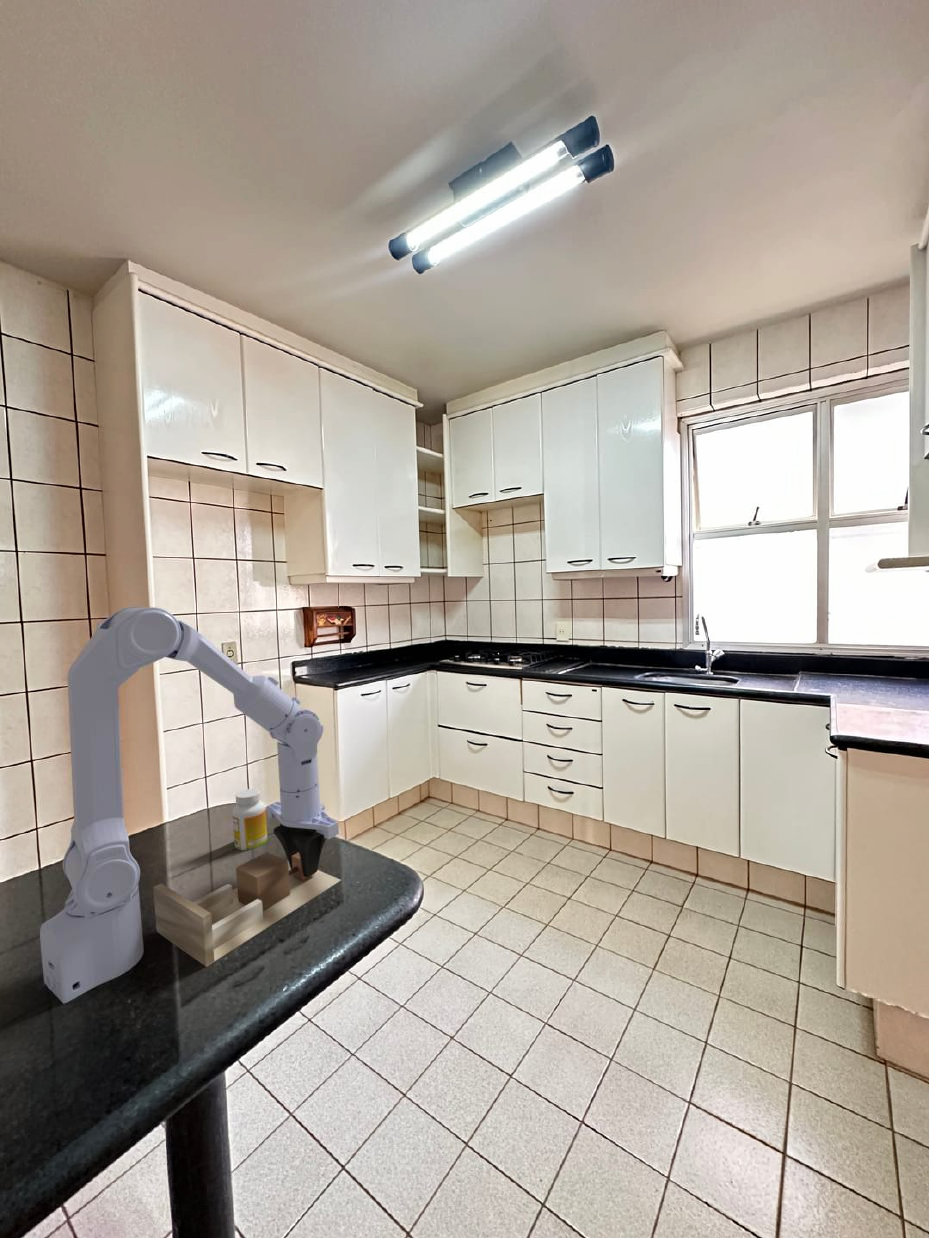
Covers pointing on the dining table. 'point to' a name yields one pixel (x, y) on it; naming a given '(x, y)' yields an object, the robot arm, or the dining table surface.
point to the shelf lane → (226, 916)
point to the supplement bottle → (249, 820)
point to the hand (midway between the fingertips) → (304, 870)
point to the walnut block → (266, 879)
